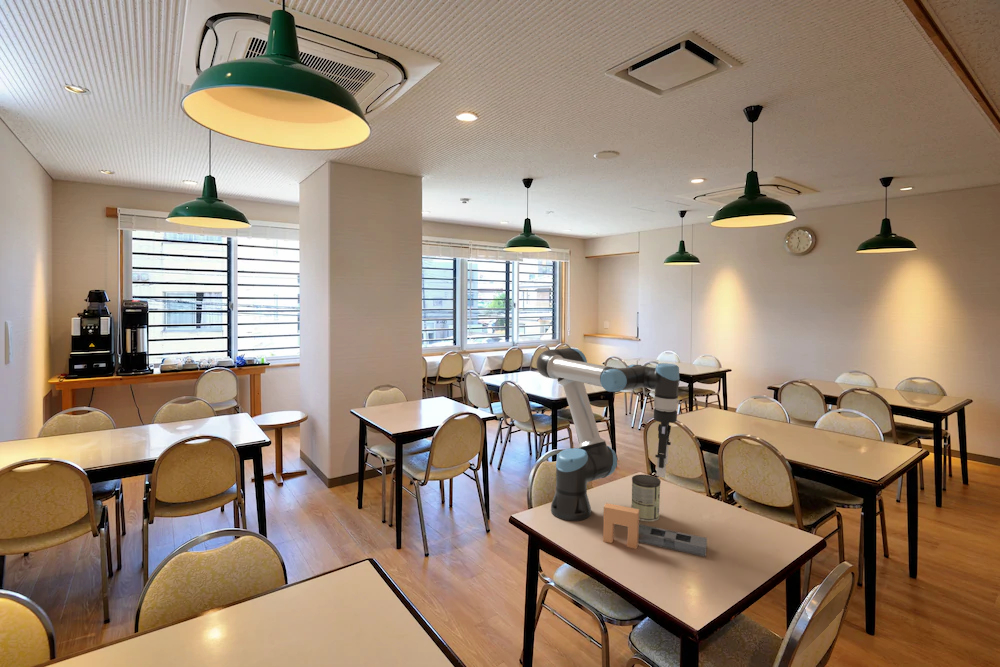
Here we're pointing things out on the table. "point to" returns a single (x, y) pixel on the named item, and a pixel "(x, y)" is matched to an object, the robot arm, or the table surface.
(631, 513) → the tan wooden block
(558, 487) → the robot arm
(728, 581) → the table surface
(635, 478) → the coffee can
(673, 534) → the rail
